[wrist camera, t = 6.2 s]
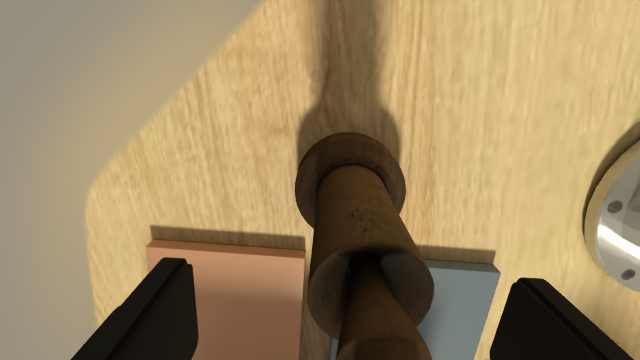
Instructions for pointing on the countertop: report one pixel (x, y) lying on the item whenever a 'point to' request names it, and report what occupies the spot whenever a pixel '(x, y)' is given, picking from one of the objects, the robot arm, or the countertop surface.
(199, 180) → the countertop surface
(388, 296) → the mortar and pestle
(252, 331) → the tile terracotta
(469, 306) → the mat bluegrey
